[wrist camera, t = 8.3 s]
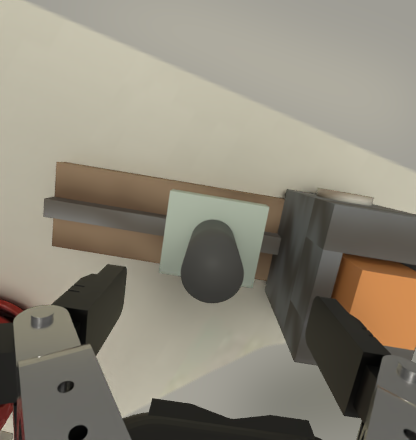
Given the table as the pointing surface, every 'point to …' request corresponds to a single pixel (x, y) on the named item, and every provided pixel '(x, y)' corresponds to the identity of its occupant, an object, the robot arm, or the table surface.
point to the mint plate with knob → (212, 243)
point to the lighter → (5, 435)
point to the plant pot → (6, 314)
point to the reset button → (379, 298)
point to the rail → (134, 199)
